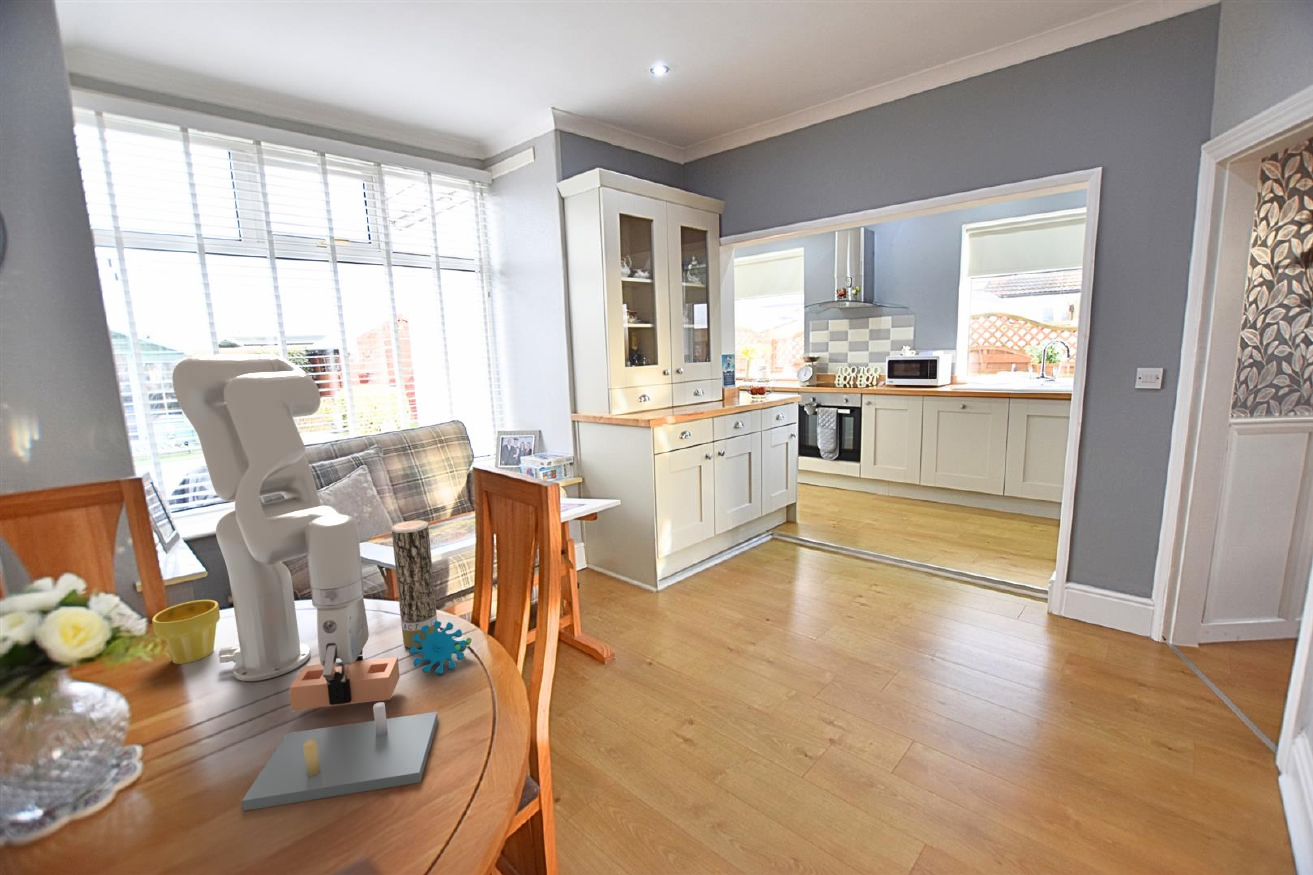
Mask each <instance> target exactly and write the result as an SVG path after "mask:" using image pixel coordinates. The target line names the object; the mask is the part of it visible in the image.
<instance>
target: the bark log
mask: <svg viewBox="0 0 1313 875" xmlns="http://www.w3.org/2000/svg"><path fill="white" fill-rule="evenodd" d="M428 523H429V522H428V521H426V520H419V519H418V520H408V521H402V522H398V523H396V524H394V525H392V526H391V535H392V545H393V546H392V547H393V556H394V564H395V565H394V566H395V573H396V574H395V576H396V585H397V594H398V603H399V605H398V606H399V613H400V623H401V624H400V626H401V631H402V632H401V633H402V641H403V645H404V646H405V647H406V648H409V649H411V647H412V646H416V647H417V649H422V646H421V645H420V644H419V643H417V642H413V640H412V639H413V637H414V636H415V635H416V634H419V635H420V640H421V641H424V640H425V634H424V633H423V632H422V631H421V629H422V627H423V626H425V625H428V626H429V630H428V632H427V633H428V634H432V633H433V632H434V622H435V621H438V614H437V605H436V604H437V603H436V602H437V601H436V593H435V582H434V581H435V580H434V574H433V573H434V572H433V571H434V570H433V560H432V549H431V540H430V529H429V524H428ZM437 631H438V632H439V628H438V629H437Z"/></svg>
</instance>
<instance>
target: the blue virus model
mask: <svg viewBox="0 0 1313 875" xmlns="http://www.w3.org/2000/svg"><path fill="white" fill-rule="evenodd" d="M441 626H442V621H440V620H437V621H435V622H434V632H433V633H432V634H428V633H427V632H428V630H429V626H428V625H425V626H423V627H422V629H421V631H422V632H423V633H424V634H425V640H424V641H421V640H420V635H419V634H416V635H415V636H414V637H413V639H412V640H413V642H417V643H419V644H420V645H421V646H422V648H420V649H419V648H417V647H416V646H412V647H411V648H409V649H410V650H409V654H410V655H417V654H419V655H422V656H423V657H422V658H421V657H414V658H413V665H414V666H415V667H418V666H419V665H420V664H422V663H424V662H430V663H429V664H425V665H424V666H423V667H422V671H423V673H425V674H429V673H430V671H431V669H432V667H433V666H434V665H435V664H439V666H438V667H437V668H436V669H435V674H437V675H443V672H444V663H445V661H449V663H448V666H447V669H448V670H449V671H451V670H453V669H455V668H456V667H457V664H456V662H454V660H453V658H452V655H453V654H455V655H456V659H457V660H458V661H461V660H462V659H463V658H464V657H465V653H464V652H465V651H466V649H467V647H468V646H470V645H471V643H472V642H473V641H472V638H471V637H467V638H466V639H461V640H455V639H453V637H456V638H461V637H462V636H463V632H462V630H461V629H460V628H459V629H456V631H454V632H452V633H447V631H452V629H453V628H454V624H453V623H452V622H447V623H446V626H445V627H444V628H443V629H442V630H441V631H439V629H440V628H441ZM437 629H438V631H437Z"/></svg>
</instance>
